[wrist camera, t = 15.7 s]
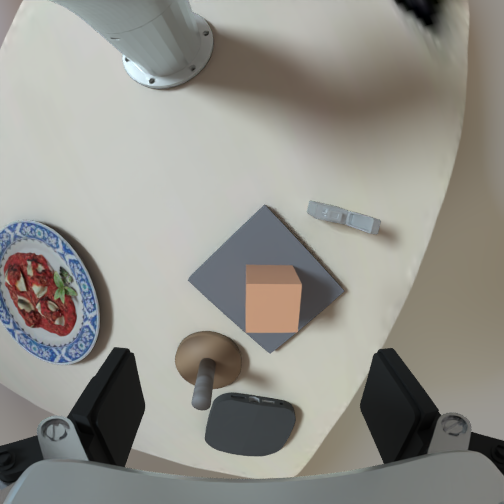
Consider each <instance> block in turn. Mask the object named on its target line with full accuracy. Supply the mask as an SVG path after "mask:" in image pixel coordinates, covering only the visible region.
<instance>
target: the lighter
mask: <svg viewBox="0 0 504 504" xmlns="http://www.w3.org/2000/svg"><path fill="white" fill-rule="evenodd" d="M307 213H308V214H310V215H311V216H312V217H314V218H316V219H321V220H326V221H330V222H335V223H340V224H344V225H345V224H347V225H348V226H350V227H353V228H356V229H359V230H361V231H364V232H367V233H370V234H378V231H379V227H380V223H381V221H380V220H379V219H376V218H373V217H370V216H366V215H363V214H360V213H356V212H351V211H350V212H348V210H345V209H342V208H340V207H337V206H333V205H329V204H324V203H319V202H315V201H309V205H308V210H307Z"/></svg>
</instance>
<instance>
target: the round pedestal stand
mask: <svg viewBox="0 0 504 504" xmlns="http://www.w3.org/2000/svg"><path fill="white" fill-rule="evenodd" d="M175 364H176V367H177V370H178V372H179V373H180V375H181V376H182V377H183V378H184V379H185V380H186V381H188V382H189V383H191V384H193V385H195V388H194V393H193V398H192V406H193V407H194V408H196V409H198V410H207V409H209V408H210V405H211V397H212V390H213V389H218V388H222V387H225V386H227V385H229V384H231V383H232V382H233V381H235V379H236V378H237V377H238V375H239V373H240V370H241V354H240V351H239V349H238V347H237V346H236V344H235V343H234V342H233V341H232V340H230V339H229V338H228V337H226V336H224V335H222V334H219V333H216V332H211V331H201V332H196V333H193V334H191V335H189V336H187V337H186V338H184V339H183V340H182V342H181V343H180V345H179V347H178V349H177V352H176V356H175Z"/></svg>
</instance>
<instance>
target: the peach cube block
mask: <svg viewBox="0 0 504 504" xmlns="http://www.w3.org/2000/svg"><path fill="white" fill-rule="evenodd" d="M301 289H302V283H301V281H300V279H299V277H298V275H297V273H296V271H295V269H294V267H293V265H246V302H245V320H246V333H294V332H298V323H299V312H300V301H301Z"/></svg>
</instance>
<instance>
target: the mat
mask: <svg viewBox="0 0 504 504" xmlns="http://www.w3.org/2000/svg"><path fill="white" fill-rule="evenodd" d="M246 265H293V267H294V269H295V271H296V273H297V275H298V277H299V279H300V281H301V283H302V289H301V301H300V312H299V323H298V331H299V330H300V329H301V328H303V327H304V326H305V325H306V324H307V323H308V322H310V321H311V320H312V319H313V318H314V317H316V316H317V315H318V314H319V313H320V312H321V311H323V310H324V309H325V308H326V307H327V306H328V305H329V304H331V303H332V302H333V301H334V300H335V299H336V298H337V297H338V296H340V295H341V294H342V293H343V292H344V290H343V289H342V288H341V286H340V285H339V284H338V283H337V282H336V281H335V280H334V279H333V278H332V276H331V275H330V274H329V273H328V272H327V271H326V270H325V269H324V268H323V266H322V265H321V264H320V263H319V262H318V261H317V260H316V259H315V258H314V257H313V256H312V254H311V253H310V252H309V251H308V250H307V249H306V248H305V247H304V246H303V245H302V244H301V243H300V241H299V240H298V239H297V238H296V237H295V236H294V235H293V234H292V233H291V232H290V231H289V230H288V229H287V228H286V226H285V225H284V224H283V223H282V222H281V221H280V220H279V219H278V218H277V217H276V216H275V215H274V214H273V213H272V212H271V211H270V210H269V209H268V208H267V206H266V205H264V206H263V207H261V208H260V209H259V210H258V211H257V212H256V213H255V214H254V215H253V216H252V217H251V218H250V219H249V220H248V221H247V222H246V223H245V224H244V225H243V226H242V227H240V228H239V229H238V230H237V231H236V232H235V233H234V234H233V235H232V236H231V237H230V238H229V239H228V240H227V241H226V242H225V243H224V244H223V245H222V246H221V247H220V248H219V249H218V250H217V251H216V252H215V253H214V254H212V255H211V256H210V257H209V258H208V259H207V260H206V261H205V262H204V263H203V264H202V265H201V266H200V267H199V268H198V269H197V270H196V271H195V272H194V273H193V274H192V275H191V276H190V277H189V279H188V281H189V282H190V283H191V284H192V285H193V286H194V287H196V288H197V289H198V290H199V291H200V292H201V293H202V294H203V295H204V296H205V297H206V298H207V299H208V300H210V301H211V302H212V303H213V304H214V305H215V306H216V307H217V308H218V309H219V310H221V311H222V312H223V313H224V314H225V315H226V316H227V317H228V318H229V319H231V320H232V321H233V322H234V323H235V324H236V325H237V326H238V327H240V328H241V329H242V330H243V331H244V332H245V333H246V320H245V302H246ZM295 333H297V332H294V333H246V334H248V335H249V336H250V337H251V338H252V339H253V340H254V341H256V342H257V343H258V344H259V345H260V346H261V347H263V348H264V349H265V350H266V351H267V352H269V353H272V352H273V351H274V350H276V349H277V348H278V347H279V346H281V345H282V344H283V343H284V342H285V341H287V340H288V339H289V338H290V337H292V336H293V335H294V334H295Z"/></svg>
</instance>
